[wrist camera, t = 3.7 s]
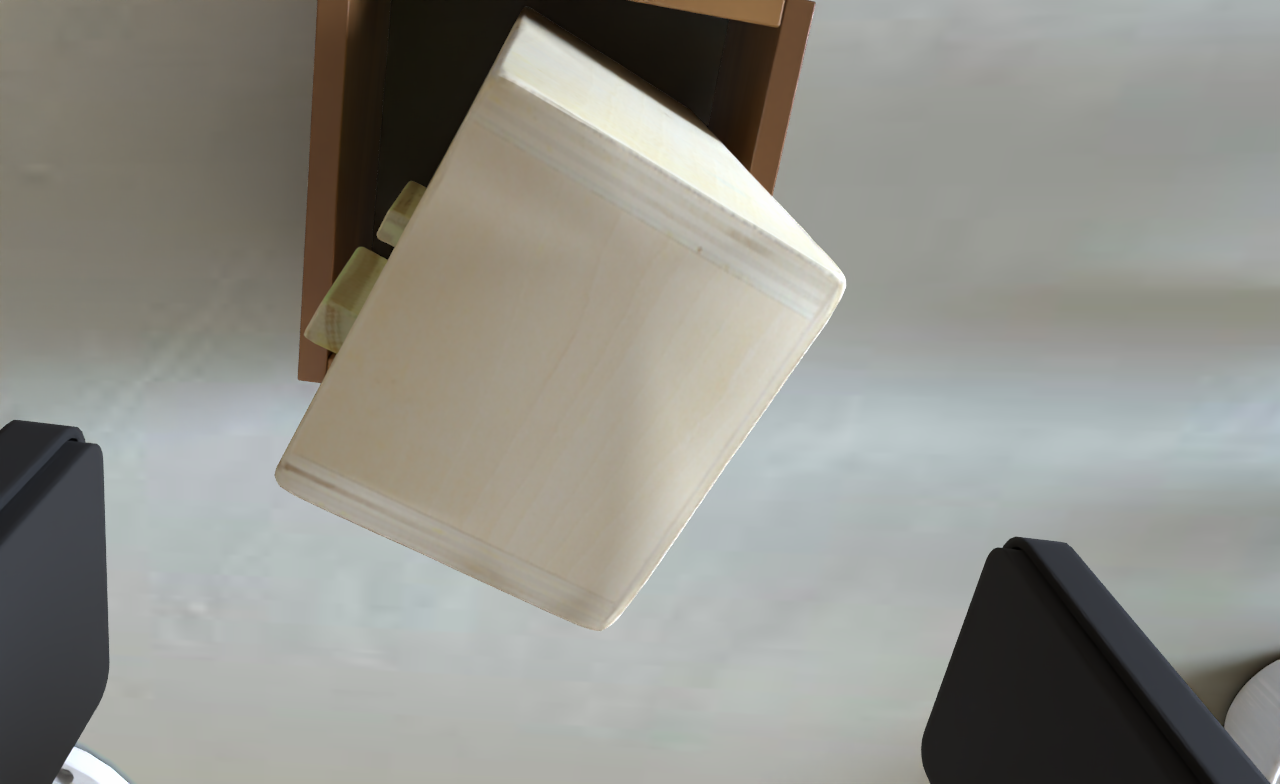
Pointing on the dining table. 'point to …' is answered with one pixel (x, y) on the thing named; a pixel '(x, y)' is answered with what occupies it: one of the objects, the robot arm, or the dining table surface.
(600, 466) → the toy refrigerator
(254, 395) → the dining table surface
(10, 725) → the robot arm
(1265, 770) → the ramekin
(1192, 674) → the dining table surface
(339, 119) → the open wooden box
